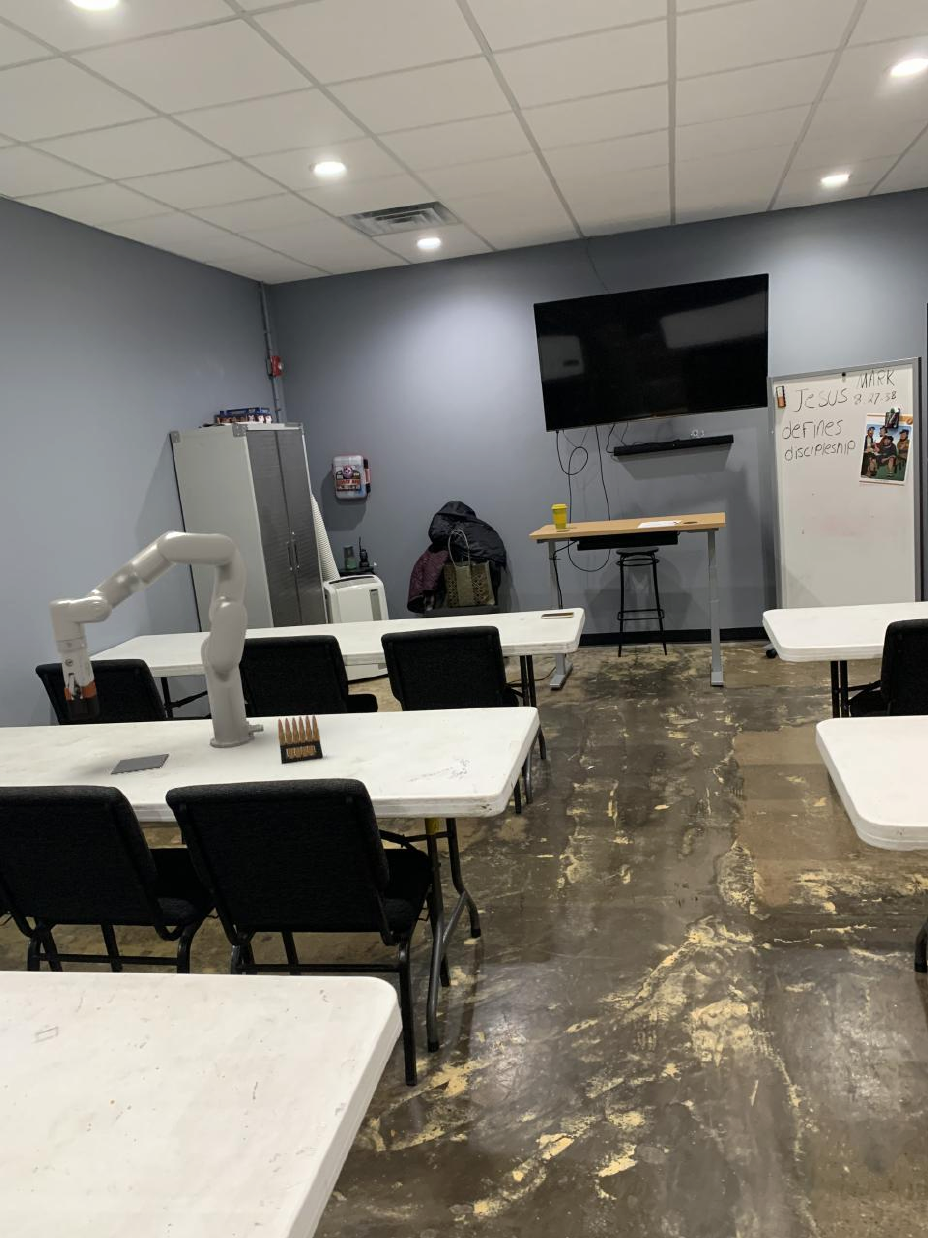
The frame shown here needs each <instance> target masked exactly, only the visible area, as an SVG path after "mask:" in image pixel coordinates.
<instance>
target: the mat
mask: <svg viewBox="0 0 928 1238" xmlns="http://www.w3.org/2000/svg"><path fill="white" fill-rule="evenodd" d="M169 754H170V753H169V752H168V753H162V754H156V755H149V756H142V757H141V756H139V757H133V758H126V759H120V760H119V762H118V763H117V764H116V765H115V766H114V768H113V769H112V770H111V772H110V775H111V776H112V775H113V774H114V775H119V774H118V773H121V774H125V773H124V772H128V773H133V772H132V771H135V772H140V771H139V770H142V771H147V770H146V769H150V770H154V769H153V768H157V769H161V768H163V766H164V764H165V762H166V761H167V759H168V757H169ZM160 767H161V768H160Z"/></svg>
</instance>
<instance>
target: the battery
mask: <svg viewBox="0 0 928 1238" xmlns="http://www.w3.org/2000/svg"><path fill="white" fill-rule="evenodd" d="M76 687H80V686H79V685H77V686H75V688H76ZM82 687H83V686H82ZM63 691H64V695H65V699H66V704H67V710H68V715H69V720H71V721H73V720H75V721H76V720H82V719H90V718H95V717H96V716H98V715H99V714H100V713H101V709H100V702H99V697H98V693H97V688H96V682H95V681H94V680H93V681H92V682H90V683H89V684H88V685H87V686H86V687H83V695H84V698H85V699H86V704H87V709H88V712H87V713H82V714H75V712H74V706H73V701H72V697H71V693H70V692H69V689H68V688H67V687H66V686H65V687H64V689H63ZM76 691H79V693H80V690H76Z"/></svg>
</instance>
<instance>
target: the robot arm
mask: <svg viewBox="0 0 928 1238" xmlns="http://www.w3.org/2000/svg"><path fill="white" fill-rule="evenodd" d="M177 564H182V565H198V566H199V565H202V566H212V567H213V569H214V581H213V590H212V594H211V601H210V606H209V609H208V617H209V621H210V623H211V626H210V632H209V635H208V636H207V637H206V638H205V639H204V640H203V642H202V644H201V647H200V656H201V657H200V658H201V662H202V667H203V672H204V676H205V682H206V689H207V695H208V702H209V709H210V715H211V720H212V721H211V722H212V729H213V734H214V735H213V737H212V738H210V740H209V745H210V746H211V747H214V748H230V747H231V748H232V747H235V746H241V745H244V744H247V743H249V742H251V741H253V740H254V739H255V733H264V731H265V730H264V728H265V727H264V725H263V724H260V723H258V724H250V721H249V720H247V714H246V706H245V701H244V700H245V699H244V694H243V687H242V686H243V685H242V679H241V673H240V668H239V665H240V662H241V660H242V656H243V652H244V647H245V640H246V635H247V634H246V633H247V628H248V618H249V617H248V612H247V610H246V609H247V608H246V607H245V606H244V604H243V603H244V596H245V589H246V581H247V570H246V569H247V568H246V565H245V561H244V559H243V555H242V554H241V553H240V551H239V549H238V548H237V547H236V544H235V542H234V540H232V538H230V537H229V536H227V534H226V535H225V534H223V533H216V532H215V533H214V532H213V533H194V532H185V531H184V532H183V531H179V530H178V531H177V530H168V531H166V532H164V533H163V534H161V535H160V536H159V537H158V538H156V539H154V540H153V541H152V542H150V544H149V545H147V546H146V547H145V548H143V550H140V552H138V553H137V554H136V555H134V556H133V557H132V558H131V559H129V560H128V561H127V562H126V563H125V564H124V565H121V567H120V568H119V569H117V570H116V571H115V572H113V574H111V575H109V577H107V578H106V579H105V580H104V581H102V582H101V583H100V584H98V585H97V586H96V587H95V588H93V589H92V590H90V591H89V592H88V593H87V594H85V596H83V598H74V597H66V598H60V599H55V600H52V601H51V602H50V603H49V606H48V609H49V614H50V620H51V625H52V629H53V635H54V636H53V637H54V640H55V645H56V651H57V652H56V653H58V654H60V658H61V667H62V674H63V679H64V683H65V687H67V688H68V689H69V692H70V693H71V697H72V701H73V706H74V712H75V714H82V713H87V712H88V709H87V704H86V699H85V698H84V695H83V687H86V686H87V685H88V684H89V683H90V682H92V681H94V680H95V676H94V672H93V671H94V670H93V666H92V663H91V662H92V661H91V659H90V656H89V652H88V648H89V645H88V640H87V639H88V638H87V634H86V630H85V625H84V624H101V623H103V622H106V621H107V620H108V619H109V618H110V617H111V615H112V612H113V610H114V609H115V608H116V607H118V605H120V604H121V603H123V602H124V601H125V600H126V599H128V598H129V597H130V596H133V595H134V594H136V593H138V592H139V591H142V590H146V589H147V588H148V587H150V586H151V585H153V584H154V583H155V582H156V581H158V580H159V579H160V578H161V577H163V576H164V575H165V574H167V572H168V571H170V570H171V569H172V568H174V567H175V566H176V565H177ZM77 685H79V686H80V687H76V688H75V686H77ZM82 686H83V687H82ZM76 690H80V693H79V691H76Z"/></svg>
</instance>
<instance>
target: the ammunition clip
mask: <svg viewBox="0 0 928 1238" xmlns="http://www.w3.org/2000/svg"><path fill="white" fill-rule="evenodd" d="M277 721H278V722H277V728H278V743H279V750H280V761H281V765H285V764H287V765H288V764H293V763H300V762H301V763H302V762H309V761H314V760H323V758H324V756H323V751H322V744H321V738H320V737H321V736H320V729H319V728H318V721H317V717H316V716H315V714H314V713H313V714H312V717H311V721H310V718H309V716H308V715H307V714H306V715H305V722H303V718H302V716H300V715H299V717H298V725H297V721H296V718H295V717H294V716H293V717H292V719H291V724H290V721H289V719H288V718H287V717H285V719H284V726H283V722H282V720H281V719H280V718H278V720H277ZM304 723H305V725H304ZM311 723H312V725H311ZM290 725H291V726H290ZM311 726H312V727H311ZM284 727H285V728H284ZM284 729H285V731H284Z"/></svg>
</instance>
